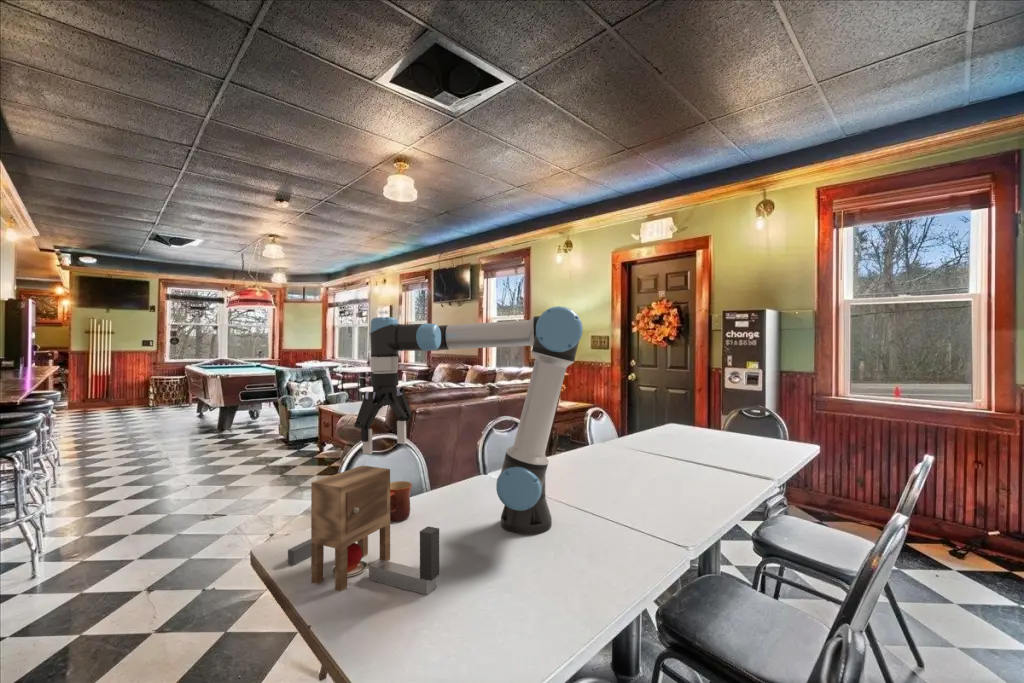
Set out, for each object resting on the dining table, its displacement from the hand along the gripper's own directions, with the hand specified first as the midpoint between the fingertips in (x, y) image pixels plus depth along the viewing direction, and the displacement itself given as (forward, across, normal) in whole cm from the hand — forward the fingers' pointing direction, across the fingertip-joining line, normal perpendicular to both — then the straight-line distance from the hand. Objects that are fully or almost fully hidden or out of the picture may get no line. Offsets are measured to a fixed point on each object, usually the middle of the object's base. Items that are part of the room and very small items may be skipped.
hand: (385, 448), depth 125 cm
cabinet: (+25, +18, +6) cm, 31 cm away
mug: (+25, -11, -6) cm, 28 cm away
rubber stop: (+25, +18, -10) cm, 32 cm away
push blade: (+25, +17, +21) cm, 37 cm away
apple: (+25, +18, +5) cm, 31 cm away
